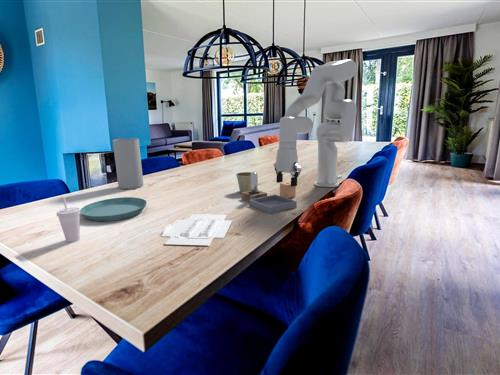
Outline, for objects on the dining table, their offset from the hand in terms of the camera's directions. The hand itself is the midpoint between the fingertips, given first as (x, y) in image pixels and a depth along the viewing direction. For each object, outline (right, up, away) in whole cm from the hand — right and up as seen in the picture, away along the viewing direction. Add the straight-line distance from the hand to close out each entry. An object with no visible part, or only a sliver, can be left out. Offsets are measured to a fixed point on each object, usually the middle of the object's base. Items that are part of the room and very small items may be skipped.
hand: (286, 184), depth 142 cm
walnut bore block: (-14, -7, -2) cm, 16 cm away
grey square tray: (-7, -9, -13) cm, 17 cm away
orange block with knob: (+1, -5, +2) cm, 6 cm away
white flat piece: (-33, -16, -35) cm, 51 cm away
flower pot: (-18, -4, +12) cm, 22 cm away
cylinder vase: (-79, -1, +26) cm, 84 cm away
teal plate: (-70, -12, -17) cm, 73 cm away
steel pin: (-14, -7, -2) cm, 16 cm away
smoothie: (-72, -18, -43) cm, 85 cm away
